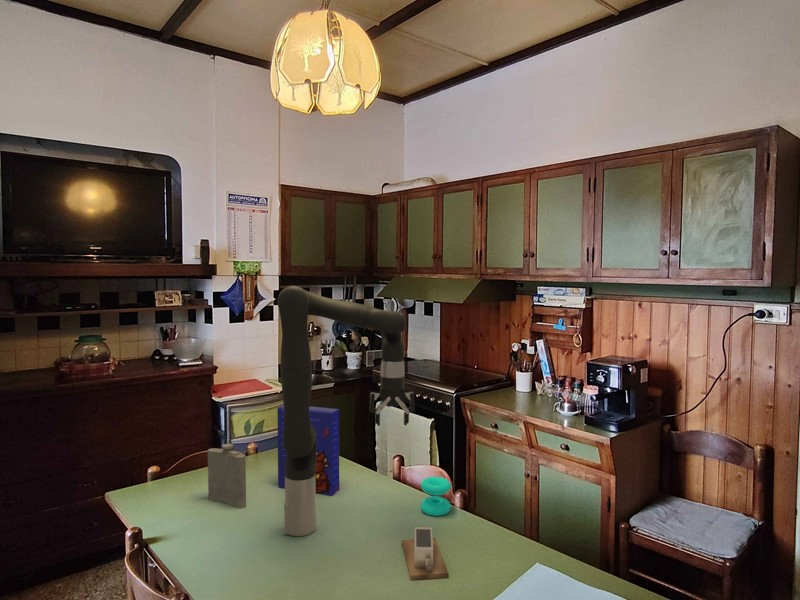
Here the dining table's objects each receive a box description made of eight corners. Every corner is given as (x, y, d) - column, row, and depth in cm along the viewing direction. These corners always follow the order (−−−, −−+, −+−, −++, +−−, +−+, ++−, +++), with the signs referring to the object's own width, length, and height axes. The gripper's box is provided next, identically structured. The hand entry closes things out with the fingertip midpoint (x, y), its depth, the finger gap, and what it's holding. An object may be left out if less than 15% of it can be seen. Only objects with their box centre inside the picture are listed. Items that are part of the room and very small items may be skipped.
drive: (414, 567, 140) (414, 548, 140) (414, 543, 152) (414, 526, 152) (433, 567, 140) (433, 549, 140) (431, 544, 152) (431, 526, 152)
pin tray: (410, 580, 137) (410, 564, 136) (401, 543, 155) (401, 529, 154) (448, 577, 138) (448, 561, 138) (435, 541, 156) (435, 528, 155)
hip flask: (206, 499, 183) (205, 443, 182) (215, 495, 187) (214, 439, 185) (241, 509, 176) (240, 450, 175) (249, 504, 180) (249, 446, 178)
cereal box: (339, 489, 192) (339, 408, 190) (332, 496, 186) (331, 412, 184) (286, 481, 199) (285, 403, 197) (278, 487, 193) (277, 407, 191)
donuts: (430, 473, 182) (456, 479, 177) (429, 501, 183) (455, 508, 178) (415, 483, 174) (442, 489, 169) (415, 512, 174) (442, 520, 169)
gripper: (370, 377, 162) (370, 429, 163) (416, 376, 163) (415, 428, 164) (369, 372, 169) (368, 421, 170) (413, 371, 171) (412, 421, 172)
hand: (391, 424), depth 167 cm, fingers open, 8 cm apart
